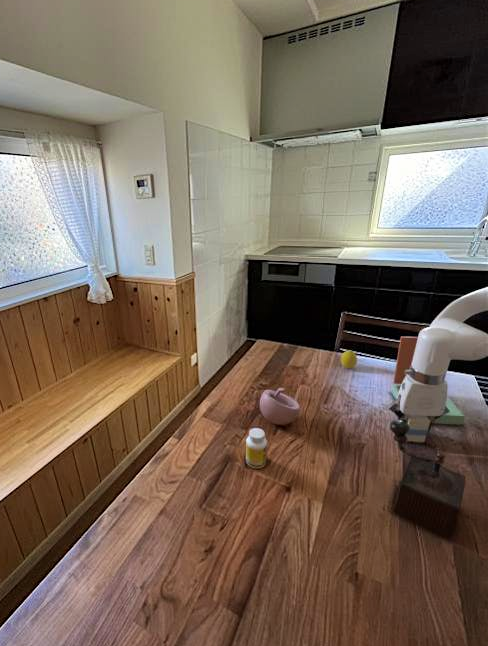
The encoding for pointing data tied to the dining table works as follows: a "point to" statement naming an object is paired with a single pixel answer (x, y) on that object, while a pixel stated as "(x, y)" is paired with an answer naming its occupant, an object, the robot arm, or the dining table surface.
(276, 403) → the mortar and pestle
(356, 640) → the dining table surface
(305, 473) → the dining table surface
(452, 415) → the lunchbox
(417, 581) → the dining table surface
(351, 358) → the lemon
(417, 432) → the drink carton
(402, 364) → the lunchbox lid
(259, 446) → the supplement bottle
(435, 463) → the manual coffee grinder
